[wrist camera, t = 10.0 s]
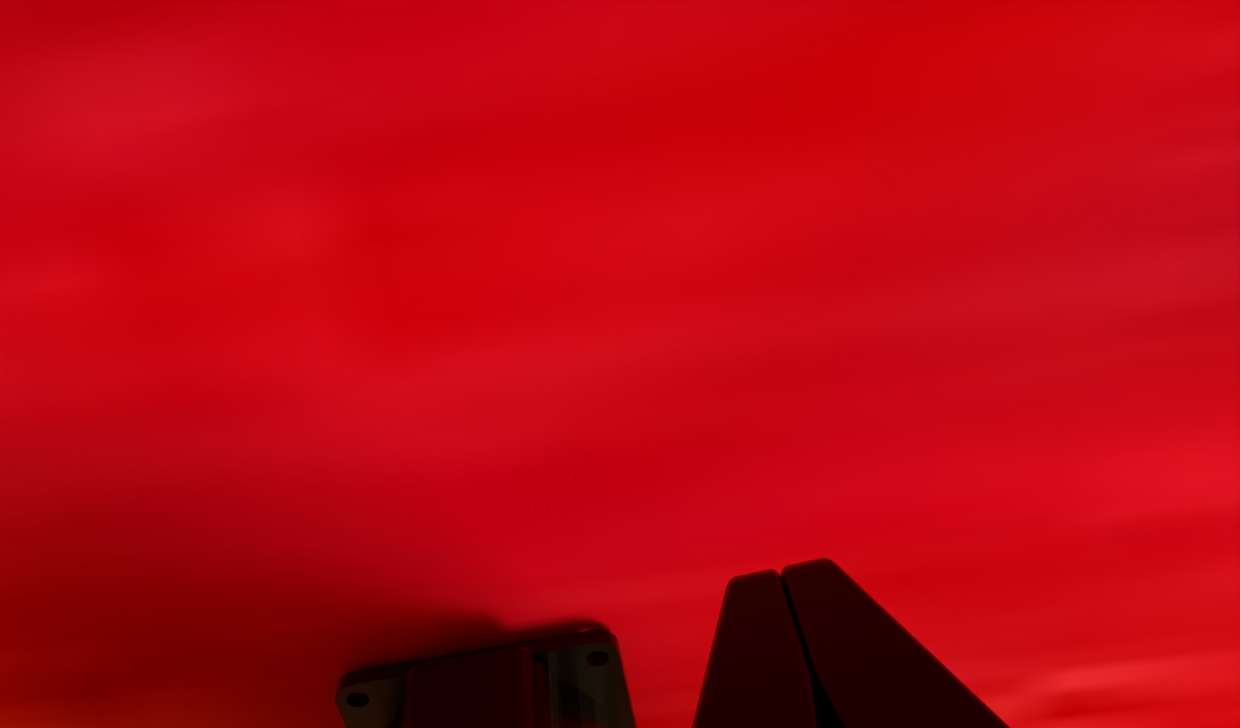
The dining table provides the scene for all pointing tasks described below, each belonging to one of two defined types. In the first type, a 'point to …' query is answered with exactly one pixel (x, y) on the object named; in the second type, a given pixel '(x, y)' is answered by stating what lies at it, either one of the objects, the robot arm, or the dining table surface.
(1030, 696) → the dining table surface
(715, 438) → the dining table surface
